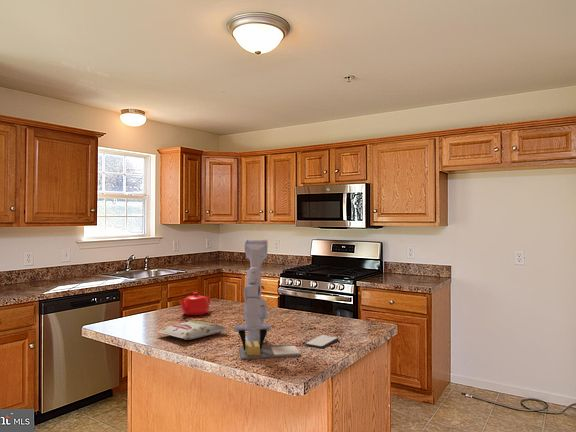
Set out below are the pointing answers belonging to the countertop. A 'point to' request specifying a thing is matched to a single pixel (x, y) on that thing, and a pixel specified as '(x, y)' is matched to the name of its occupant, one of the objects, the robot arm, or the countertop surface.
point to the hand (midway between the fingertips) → (252, 349)
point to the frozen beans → (192, 329)
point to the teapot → (195, 305)
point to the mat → (272, 352)
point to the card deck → (252, 348)
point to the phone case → (321, 341)
